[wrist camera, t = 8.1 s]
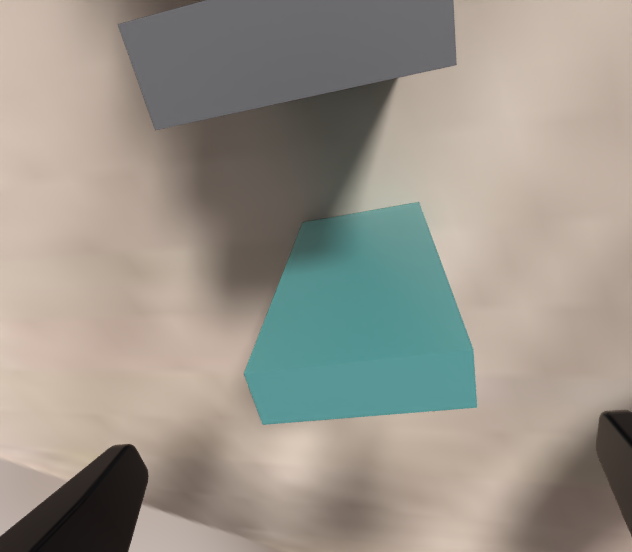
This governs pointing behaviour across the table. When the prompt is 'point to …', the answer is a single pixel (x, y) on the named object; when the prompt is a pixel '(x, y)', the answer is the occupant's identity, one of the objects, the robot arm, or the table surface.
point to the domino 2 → (362, 325)
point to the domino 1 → (279, 51)
